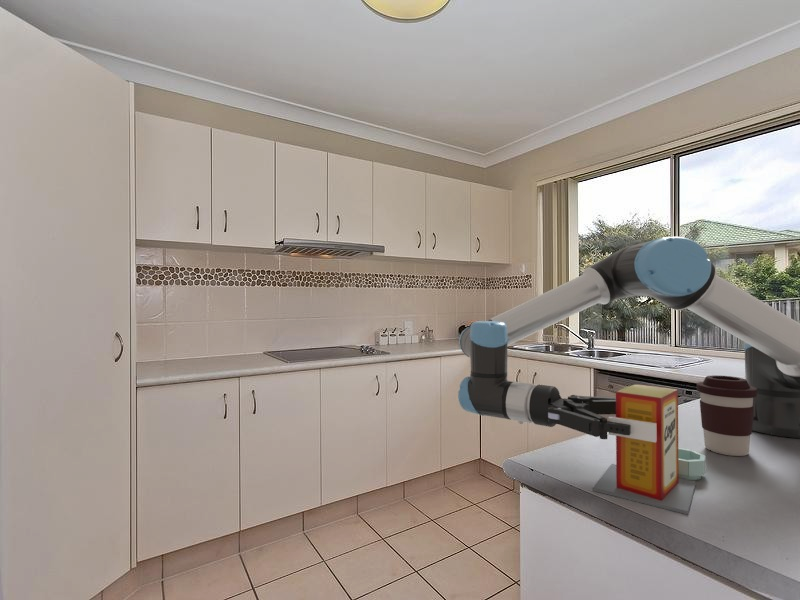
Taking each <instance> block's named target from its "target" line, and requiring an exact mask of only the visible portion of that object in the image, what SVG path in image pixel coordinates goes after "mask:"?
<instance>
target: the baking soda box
mask: <svg viewBox="0 0 800 600" xmlns="http://www.w3.org/2000/svg"><path fill="white" fill-rule="evenodd" d="M615 397H616V414H615V417H617V418H624V419H631V420H638V421H644V422H651V423H657V442H656V443H655V442H650V441H644V440H638V439H632V438H627V437H621V436H615V442H616V443H615V448H616V449H615V451H616V453H615V455H616V456H615V457H616V458H615V459H616V461H615V465H616V483H617V488H619V489H623V490H626V491H630V492H633V493H636V494H640V495H643V496H647V497H650V498H654V499H657V500H660V501H662V500H663V499H664V498H665V497H666V496H667V494H668V493H669V492H670V491H671V490H672V489H673V488H674V487H675V486H676V485H677V484H678V483H679V464H678V448H679V389H677V388H669V387H663V386H662V387H660V386H656V385H655V386H653V385H646V384H645V385H644V384H638V383H637V384H636V383H635V384H632V385H630V386H629V385H627V386H625V387H623V388H620V389H619V390H617V391H616V392H615Z"/></svg>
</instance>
